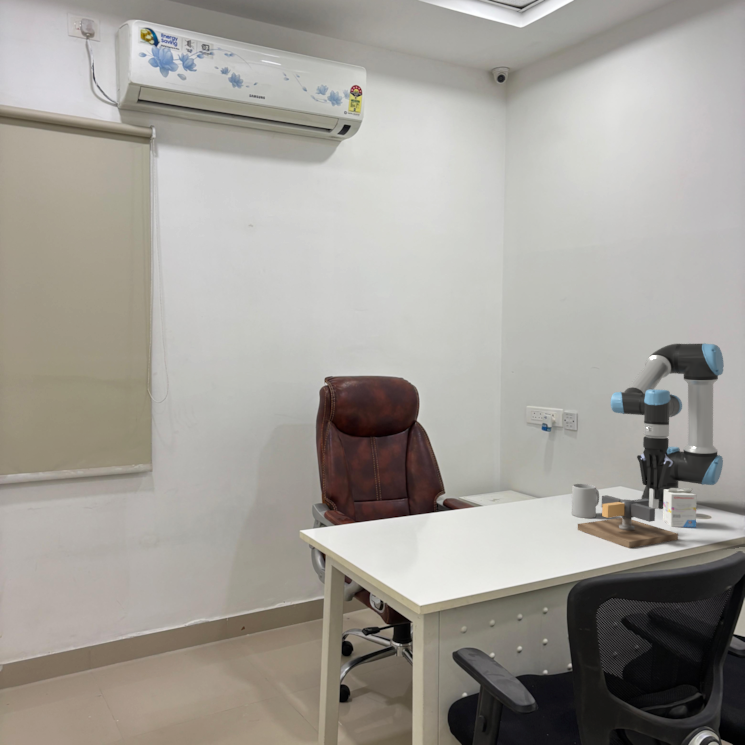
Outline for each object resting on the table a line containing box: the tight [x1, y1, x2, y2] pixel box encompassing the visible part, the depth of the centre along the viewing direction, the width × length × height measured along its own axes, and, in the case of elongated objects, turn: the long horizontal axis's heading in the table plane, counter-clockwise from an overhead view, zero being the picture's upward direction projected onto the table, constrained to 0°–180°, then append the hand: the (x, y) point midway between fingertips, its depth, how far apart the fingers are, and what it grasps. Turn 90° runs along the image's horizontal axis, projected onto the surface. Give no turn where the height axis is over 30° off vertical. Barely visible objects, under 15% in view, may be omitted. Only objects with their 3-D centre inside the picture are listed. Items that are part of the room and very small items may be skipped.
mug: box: [571, 483, 600, 519], centre depth 237 cm, size 12×8×11 cm
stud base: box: [577, 516, 679, 549], centre depth 212 cm, size 22×22×6 cm
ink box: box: [662, 487, 698, 528], centre depth 226 cm, size 9×8×13 cm
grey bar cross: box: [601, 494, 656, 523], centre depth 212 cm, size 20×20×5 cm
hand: (653, 508), depth 209 cm, fingers closed
